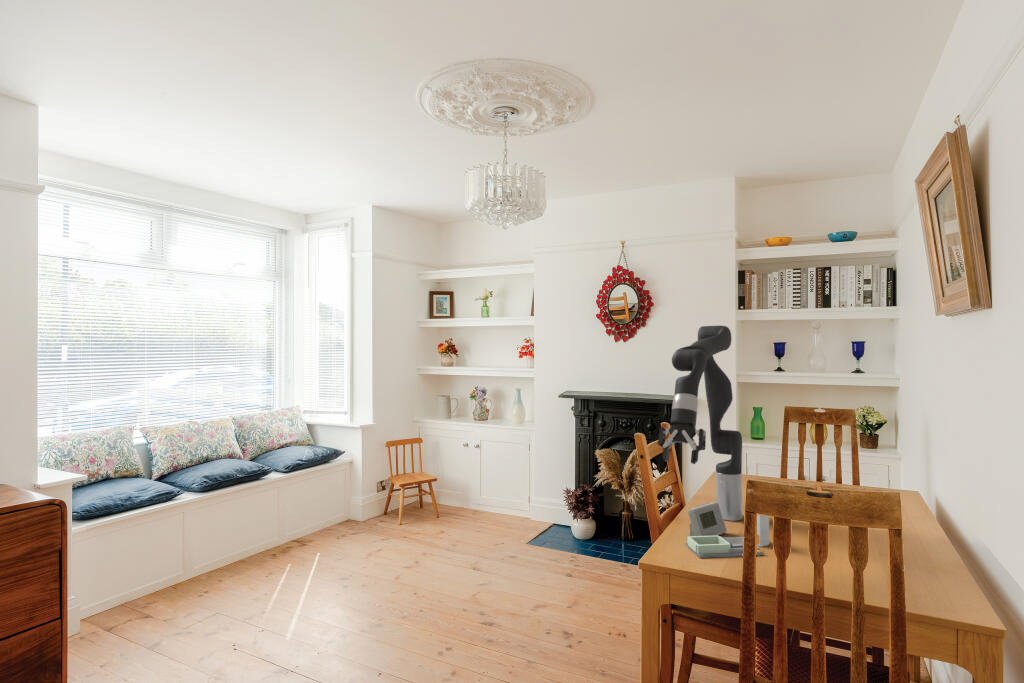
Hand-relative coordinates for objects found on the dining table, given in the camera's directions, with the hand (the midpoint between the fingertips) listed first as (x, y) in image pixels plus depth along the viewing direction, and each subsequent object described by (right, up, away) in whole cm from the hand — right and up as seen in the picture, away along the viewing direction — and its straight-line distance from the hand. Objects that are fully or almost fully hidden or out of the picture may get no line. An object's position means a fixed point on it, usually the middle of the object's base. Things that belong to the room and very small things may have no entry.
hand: (679, 462), depth 175 cm
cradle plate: (+22, -28, +10) cm, 37 cm away
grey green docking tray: (+17, -30, +10) cm, 36 cm away
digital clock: (+17, -31, +24) cm, 42 cm away
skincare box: (+31, -30, +16) cm, 46 cm away
